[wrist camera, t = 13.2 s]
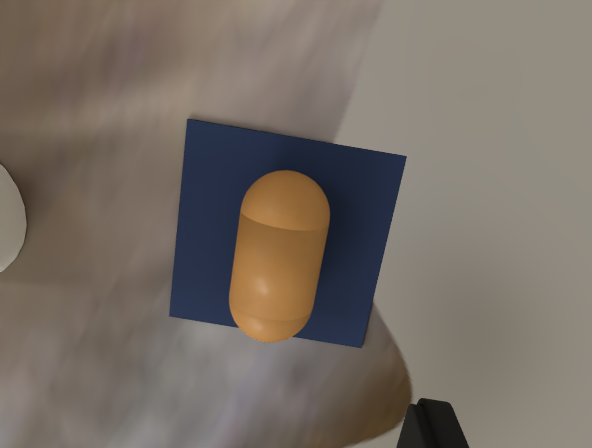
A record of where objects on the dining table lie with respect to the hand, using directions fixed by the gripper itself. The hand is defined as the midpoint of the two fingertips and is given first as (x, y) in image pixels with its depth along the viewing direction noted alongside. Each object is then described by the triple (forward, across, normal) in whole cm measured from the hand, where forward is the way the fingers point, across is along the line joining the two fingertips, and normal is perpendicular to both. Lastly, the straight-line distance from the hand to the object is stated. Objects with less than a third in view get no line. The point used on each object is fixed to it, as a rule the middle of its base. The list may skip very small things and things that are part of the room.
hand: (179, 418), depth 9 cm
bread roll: (+17, -1, +2) cm, 17 cm away
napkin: (+17, -1, +2) cm, 17 cm away
